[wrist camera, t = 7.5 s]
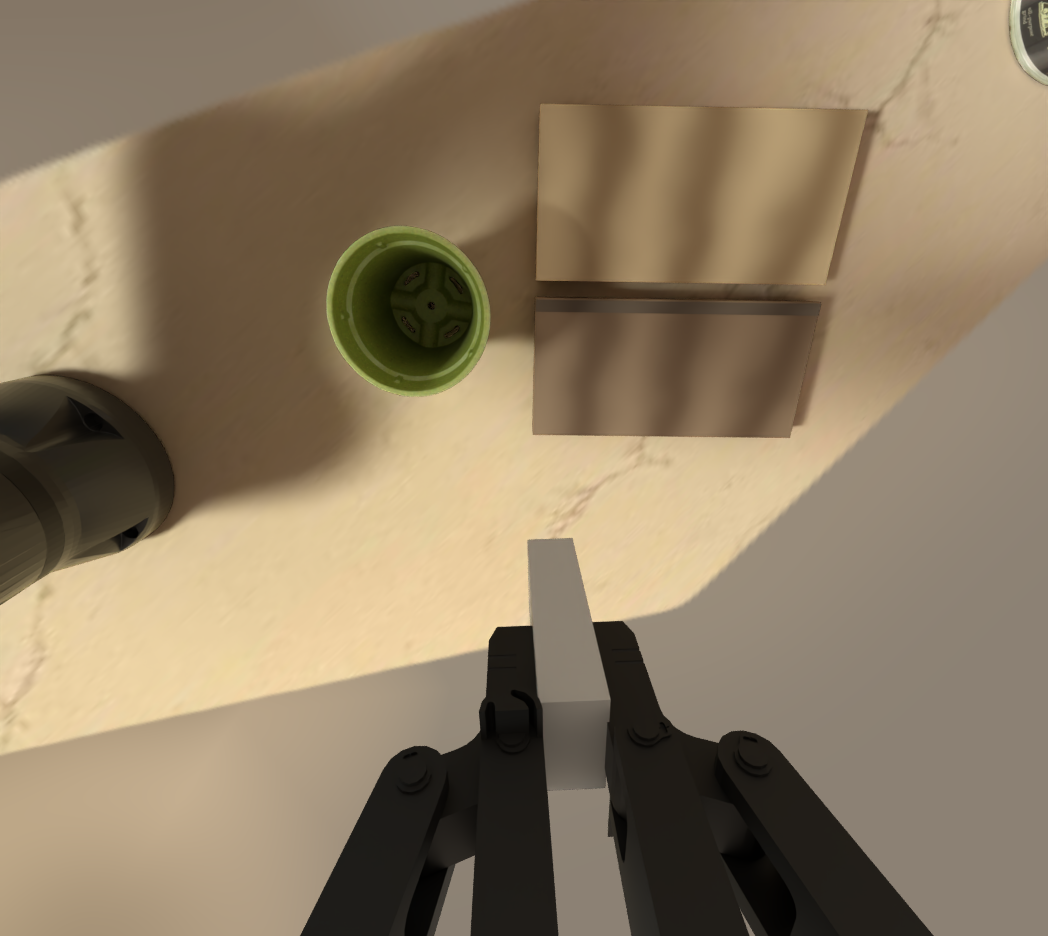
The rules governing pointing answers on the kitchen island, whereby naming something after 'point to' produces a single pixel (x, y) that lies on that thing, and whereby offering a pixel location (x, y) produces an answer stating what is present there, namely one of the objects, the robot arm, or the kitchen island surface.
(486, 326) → the plant pot
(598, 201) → the oak plank
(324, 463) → the kitchen island surface
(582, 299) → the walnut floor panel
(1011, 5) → the coffee can
